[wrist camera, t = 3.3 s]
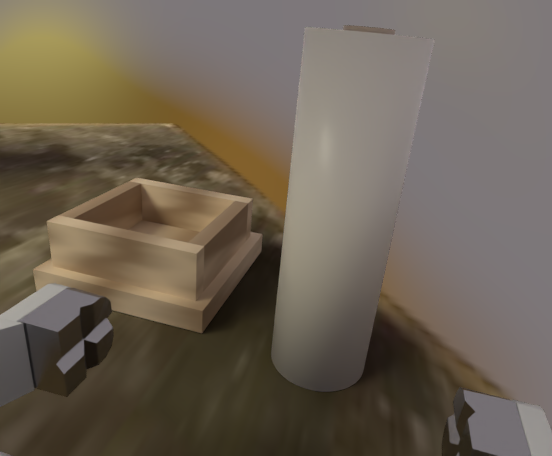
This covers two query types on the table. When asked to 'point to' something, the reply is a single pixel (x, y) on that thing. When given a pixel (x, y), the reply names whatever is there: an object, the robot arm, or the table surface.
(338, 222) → the roll
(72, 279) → the holder
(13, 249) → the table surface
